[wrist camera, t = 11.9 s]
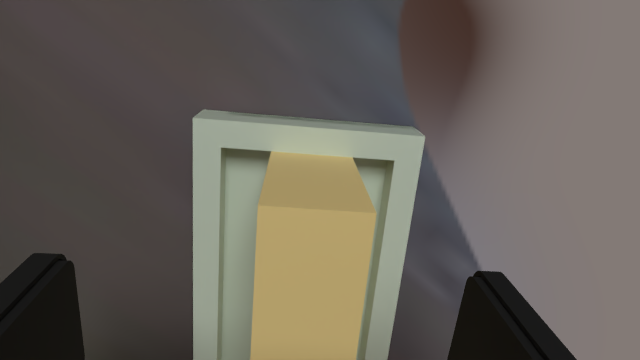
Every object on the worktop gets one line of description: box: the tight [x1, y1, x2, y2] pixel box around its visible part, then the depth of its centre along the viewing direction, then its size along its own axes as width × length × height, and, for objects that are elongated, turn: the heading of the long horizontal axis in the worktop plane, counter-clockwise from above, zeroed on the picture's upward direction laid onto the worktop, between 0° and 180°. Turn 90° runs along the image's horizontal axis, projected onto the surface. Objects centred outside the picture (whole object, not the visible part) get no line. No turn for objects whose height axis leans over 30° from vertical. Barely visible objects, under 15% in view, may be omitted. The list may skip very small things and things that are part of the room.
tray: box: [193, 110, 425, 360], centre depth 19 cm, size 16×8×2 cm, turn 175°
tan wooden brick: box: [250, 151, 377, 360], centre depth 16 cm, size 12×3×6 cm, turn 175°
